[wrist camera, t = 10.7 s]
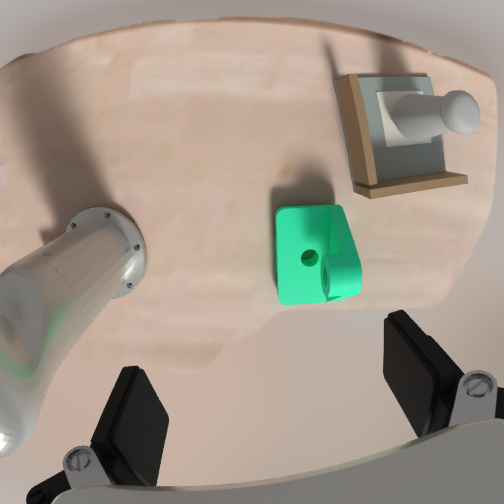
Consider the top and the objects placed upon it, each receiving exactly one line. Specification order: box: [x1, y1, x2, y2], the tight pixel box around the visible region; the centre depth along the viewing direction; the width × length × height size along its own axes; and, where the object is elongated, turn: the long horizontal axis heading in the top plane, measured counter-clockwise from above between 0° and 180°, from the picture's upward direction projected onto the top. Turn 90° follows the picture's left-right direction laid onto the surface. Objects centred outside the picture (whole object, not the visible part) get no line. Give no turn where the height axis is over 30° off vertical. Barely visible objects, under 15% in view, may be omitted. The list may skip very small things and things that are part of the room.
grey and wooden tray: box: [333, 74, 468, 199], centre depth 31 cm, size 14×14×6 cm
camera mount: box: [275, 204, 362, 305], centre depth 34 cm, size 12×8×10 cm, turn 3°
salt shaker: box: [392, 90, 480, 141], centre depth 27 cm, size 6×6×13 cm
